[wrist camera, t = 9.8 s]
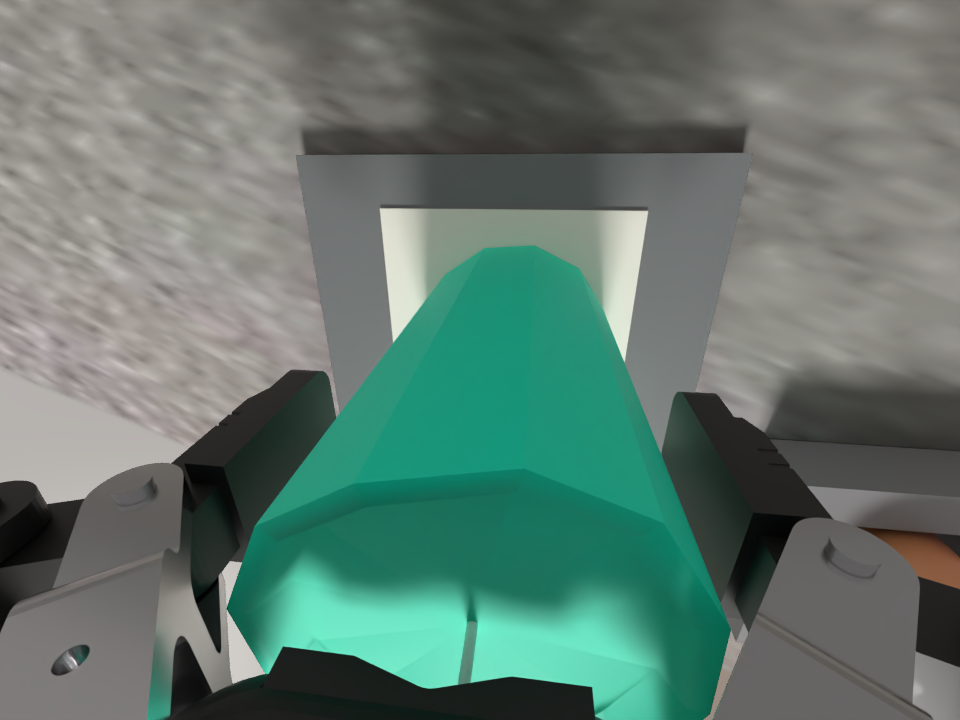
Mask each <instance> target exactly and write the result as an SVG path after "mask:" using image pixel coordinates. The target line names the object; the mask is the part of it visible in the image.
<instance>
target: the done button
mask: <svg viewBox="0 0 960 720" xmlns="http://www.w3.org/2000/svg"><path fill="white" fill-rule="evenodd" d="M858 528H860V529H862V530H865V531H867V532H869V533H871V534H872V535H874V536H876V537H878V538H879V539H881V540H882V541H884V542H885V543H887V544H888V545H890V546H891V547H892V548H893V549H895V550H896V551H897V552H898V553H899V554H901V555H902V556H903V557H904V558H905V559H906V560H907V562H908V563H909V564H910V565H911V566H912V568H913V569H914V571H915V573H916V574H917V576H919V577H922V578H925V579H928V580H932V581H935V582H938V583H942V584H945V585H948V586H951V587H955V588H958V589H960V557H959V556H958V555H957V554H956V553H955V552H953V551H952V550H951V549H950V548H949V547H948V546H947V545H946V544H945V543H944V542H943V541H942V540H941V539H940V538H939V537H938V536H937V535H936V534H935V533H926V532H915V531H903V530H891V529H879V528H868V527H858Z"/></svg>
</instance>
